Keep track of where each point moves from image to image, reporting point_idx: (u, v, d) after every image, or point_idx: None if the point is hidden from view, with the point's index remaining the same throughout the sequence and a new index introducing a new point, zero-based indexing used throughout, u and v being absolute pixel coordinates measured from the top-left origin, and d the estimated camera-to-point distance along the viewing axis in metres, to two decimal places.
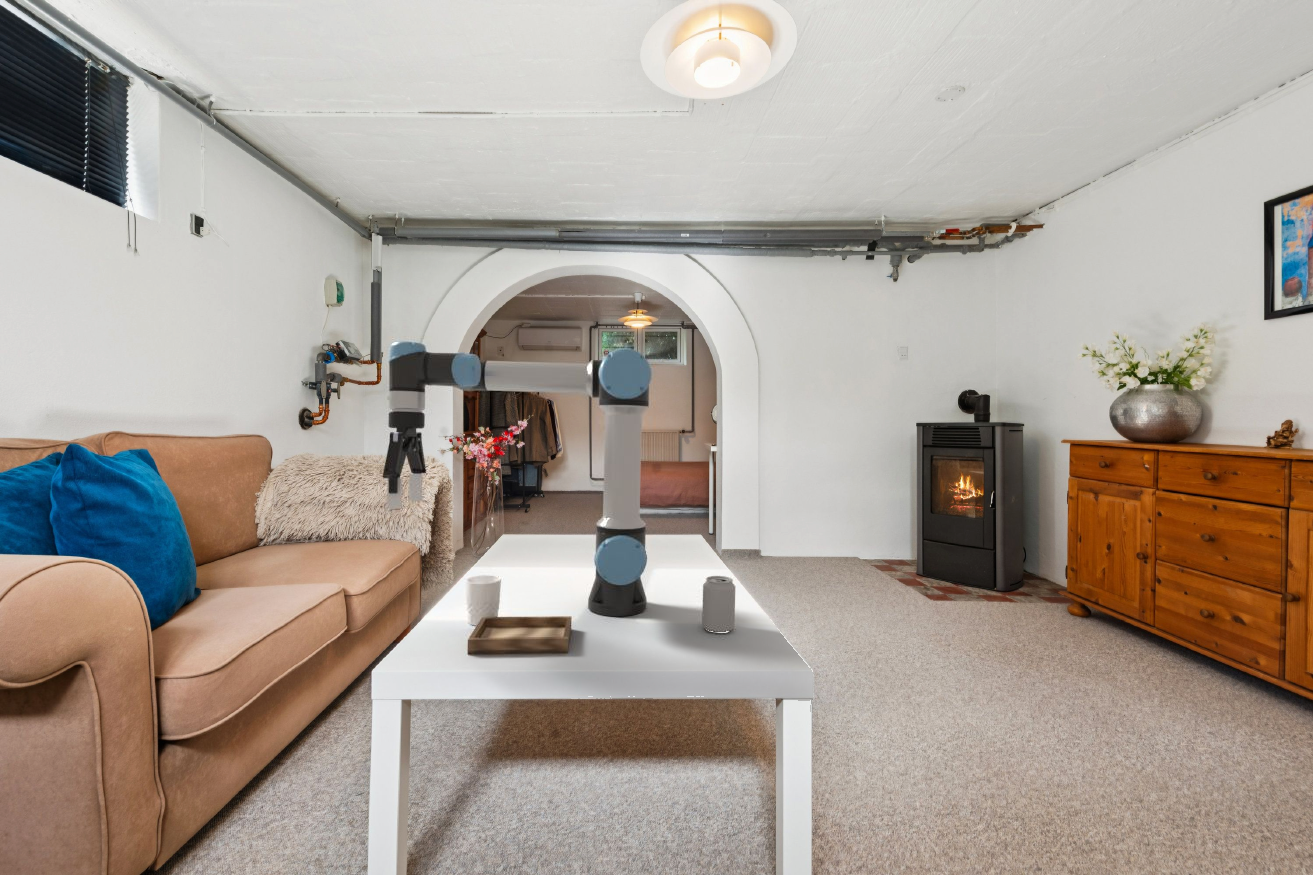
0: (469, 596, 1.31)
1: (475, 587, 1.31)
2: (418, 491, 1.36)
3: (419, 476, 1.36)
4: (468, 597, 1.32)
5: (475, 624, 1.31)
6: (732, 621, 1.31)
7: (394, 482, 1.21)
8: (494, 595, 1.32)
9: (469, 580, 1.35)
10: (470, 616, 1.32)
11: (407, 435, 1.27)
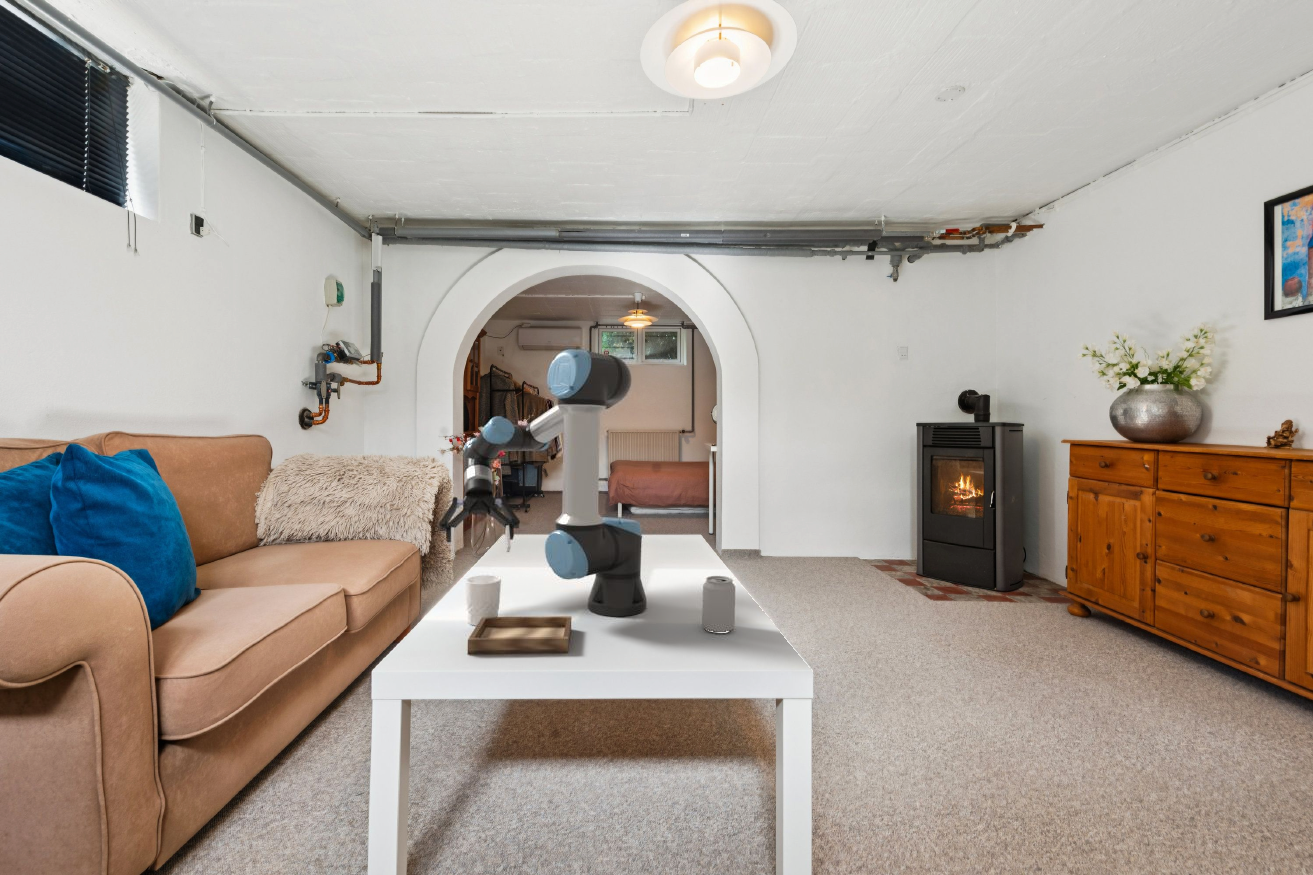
0: (469, 596, 1.31)
1: (475, 588, 1.31)
2: (506, 540, 1.48)
3: (506, 528, 1.50)
4: (468, 597, 1.32)
5: (475, 624, 1.31)
6: (732, 621, 1.31)
7: (446, 532, 1.45)
8: (494, 595, 1.32)
9: (469, 580, 1.35)
10: (470, 616, 1.32)
11: (469, 499, 1.53)
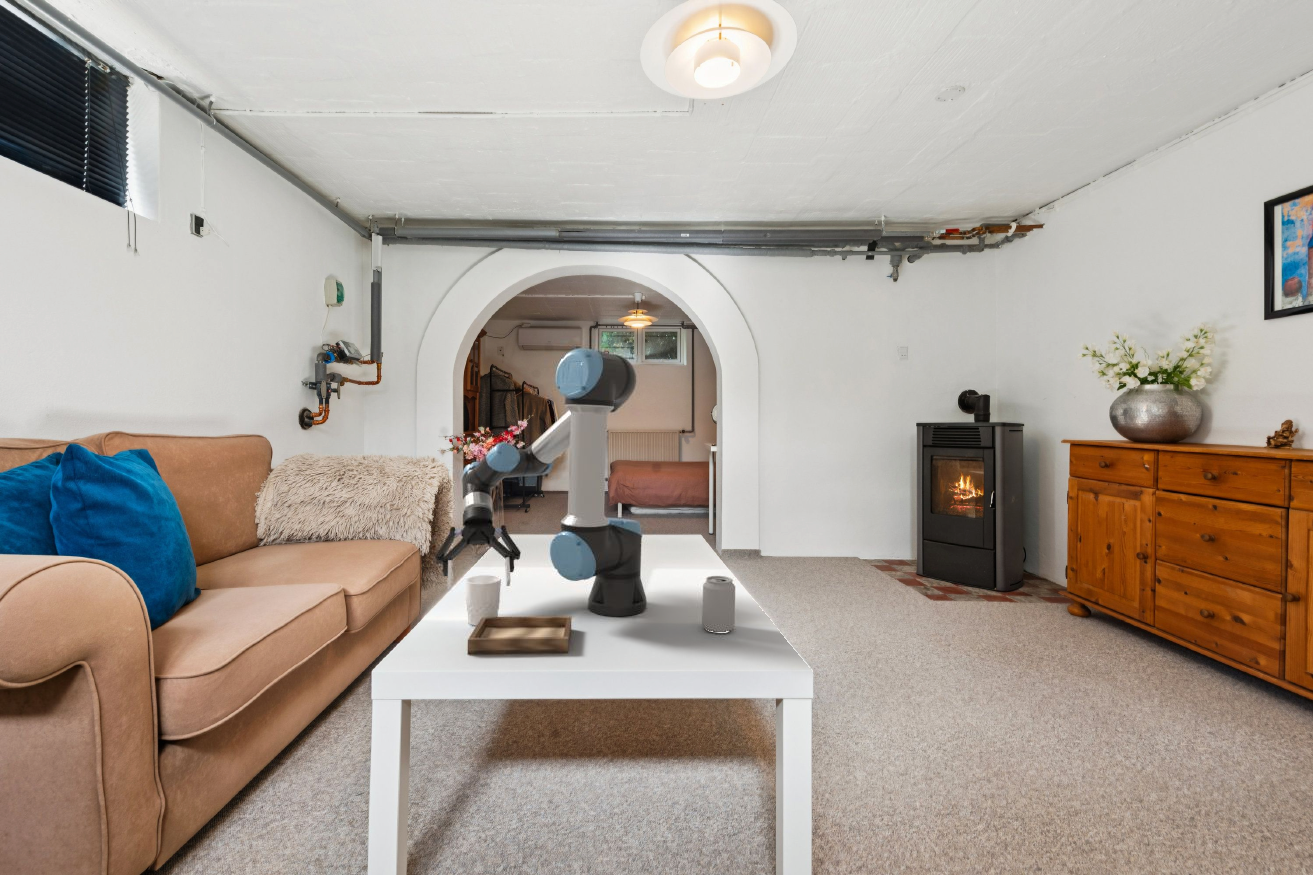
0: (469, 596, 1.31)
1: (475, 588, 1.31)
2: (506, 573, 1.40)
3: (506, 560, 1.42)
4: (468, 597, 1.32)
5: (475, 624, 1.31)
6: (732, 621, 1.31)
7: (443, 565, 1.37)
8: (494, 595, 1.32)
9: (469, 580, 1.35)
10: (470, 616, 1.32)
11: (467, 528, 1.46)
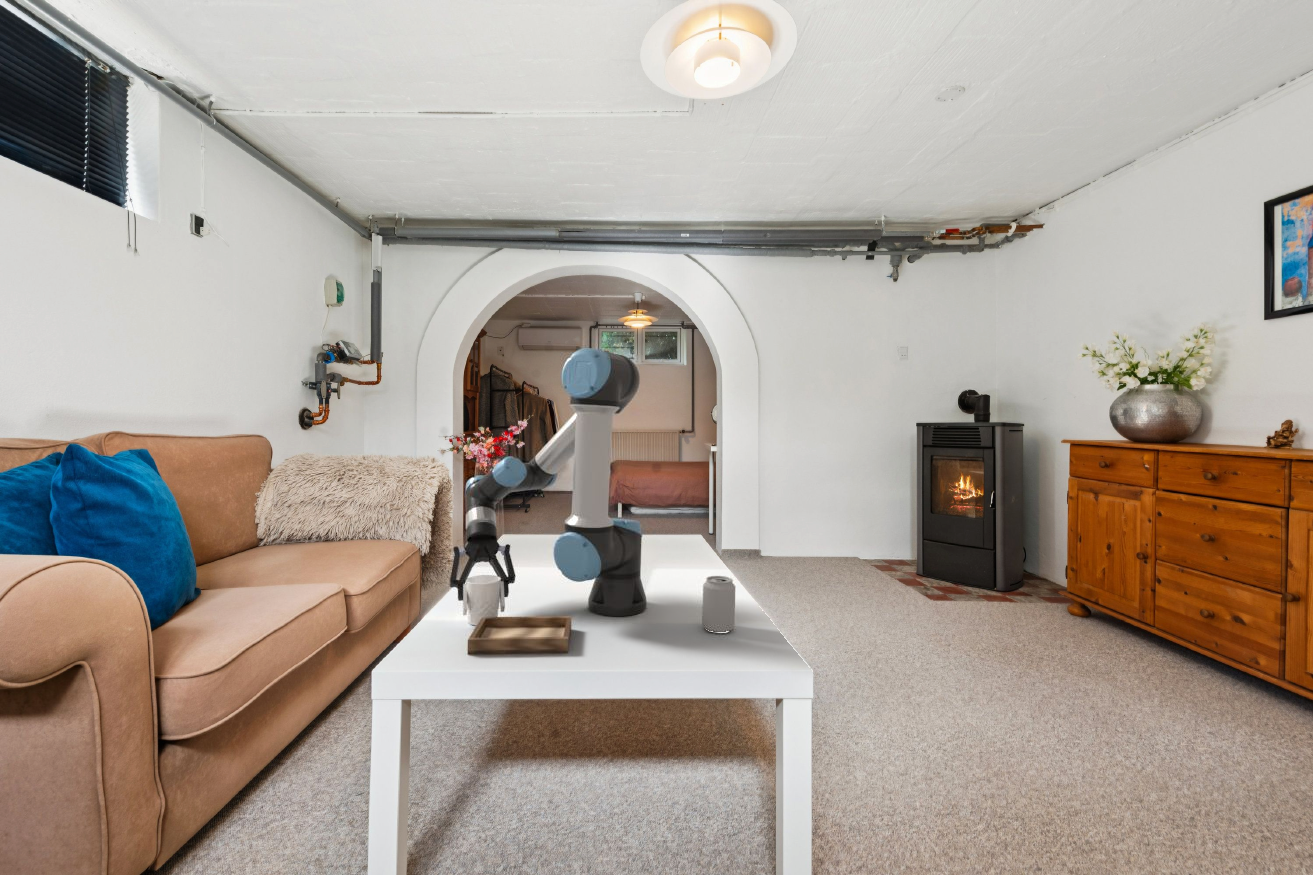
0: (469, 596, 1.31)
1: (474, 587, 1.31)
2: (500, 598, 1.34)
3: None
4: (468, 597, 1.32)
5: (475, 624, 1.31)
6: (732, 621, 1.31)
7: (458, 589, 1.33)
8: (494, 595, 1.32)
9: (469, 580, 1.35)
10: (470, 616, 1.32)
11: (470, 544, 1.41)
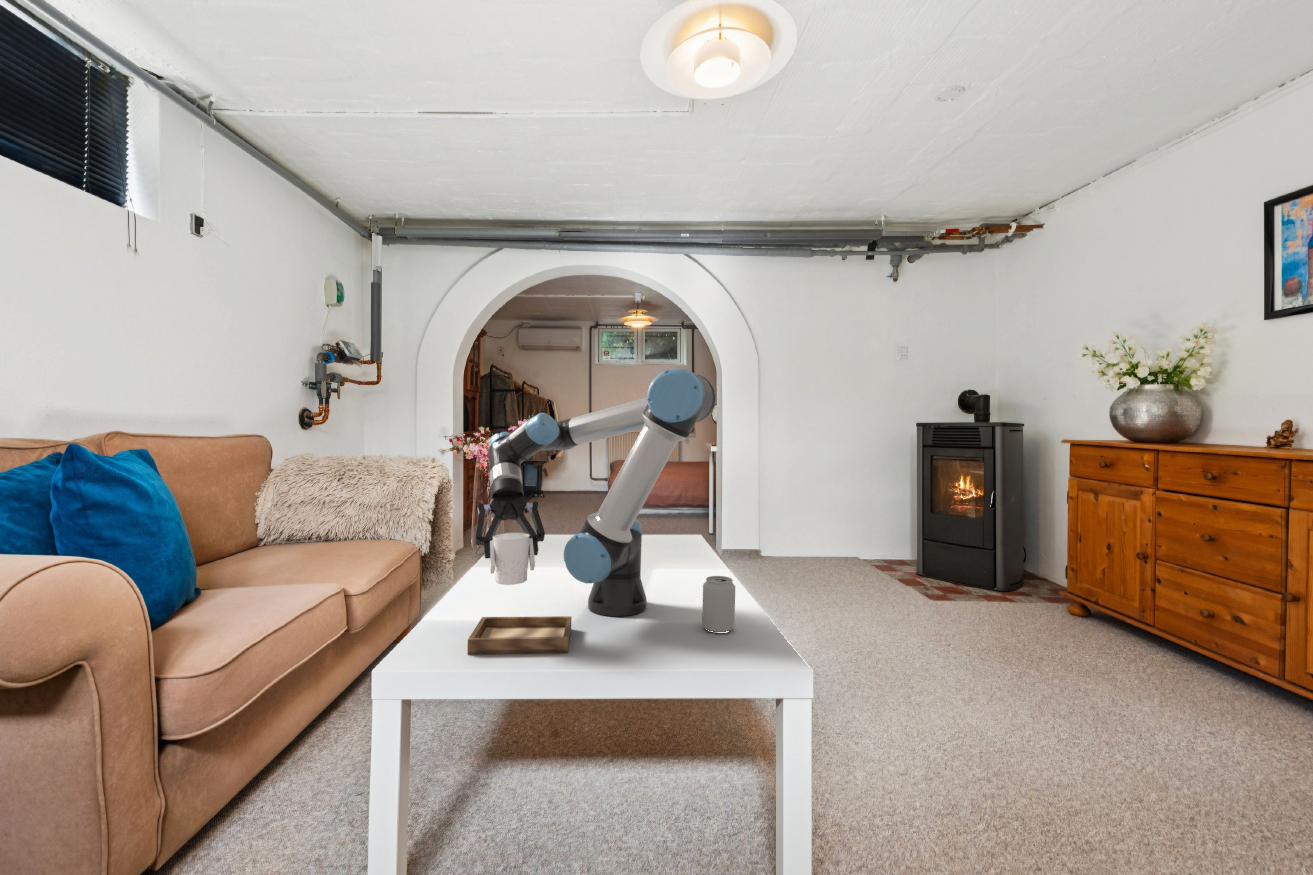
0: (497, 553, 1.22)
1: (502, 543, 1.21)
2: (530, 555, 1.24)
3: (529, 541, 1.26)
4: (495, 554, 1.23)
5: (503, 583, 1.22)
6: (732, 621, 1.31)
7: (484, 546, 1.24)
8: (523, 551, 1.23)
9: (495, 537, 1.26)
10: (498, 575, 1.23)
11: (495, 501, 1.32)
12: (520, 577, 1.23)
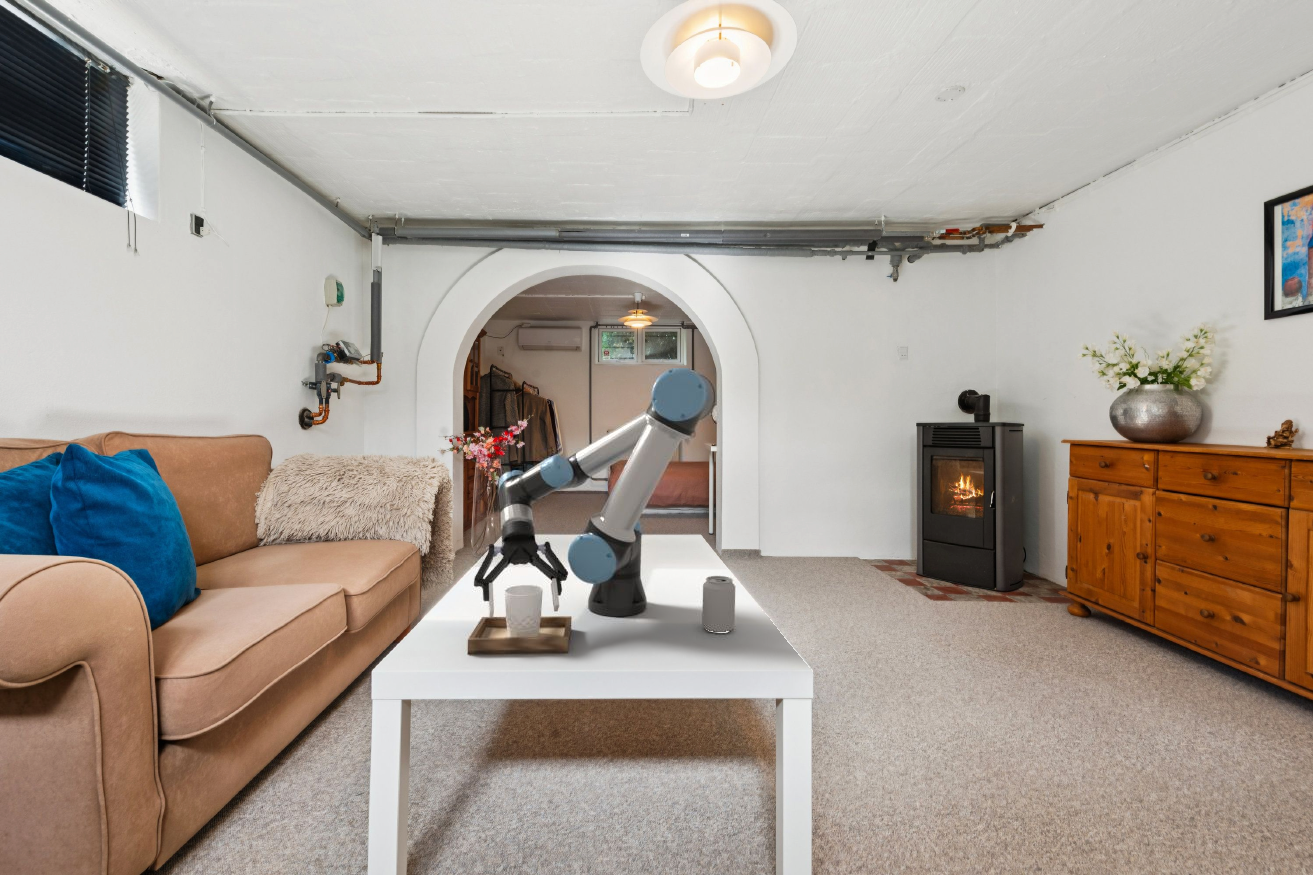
0: (509, 609, 1.20)
1: (515, 599, 1.19)
2: (554, 597, 1.24)
3: (552, 581, 1.26)
4: (508, 610, 1.20)
5: None
6: (732, 621, 1.31)
7: (483, 588, 1.21)
8: (536, 607, 1.21)
9: (508, 591, 1.23)
10: (510, 631, 1.20)
11: (507, 545, 1.29)
12: (533, 633, 1.21)
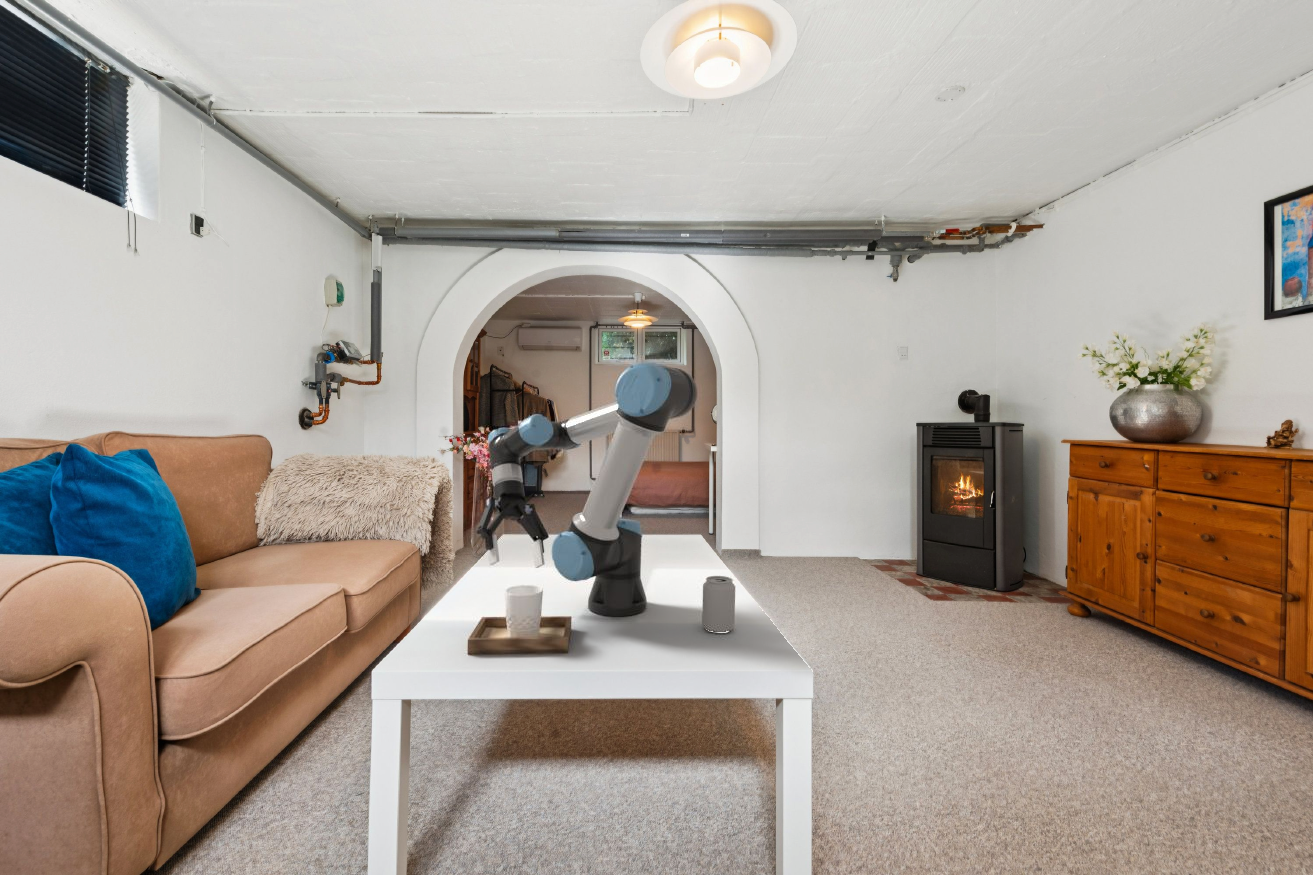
0: (509, 609, 1.20)
1: (516, 599, 1.19)
2: (539, 556, 1.43)
3: (538, 542, 1.44)
4: (508, 610, 1.20)
5: None
6: (732, 621, 1.31)
7: (487, 538, 1.33)
8: (536, 607, 1.21)
9: (508, 591, 1.23)
10: (510, 631, 1.20)
11: (504, 501, 1.42)
12: (533, 633, 1.21)
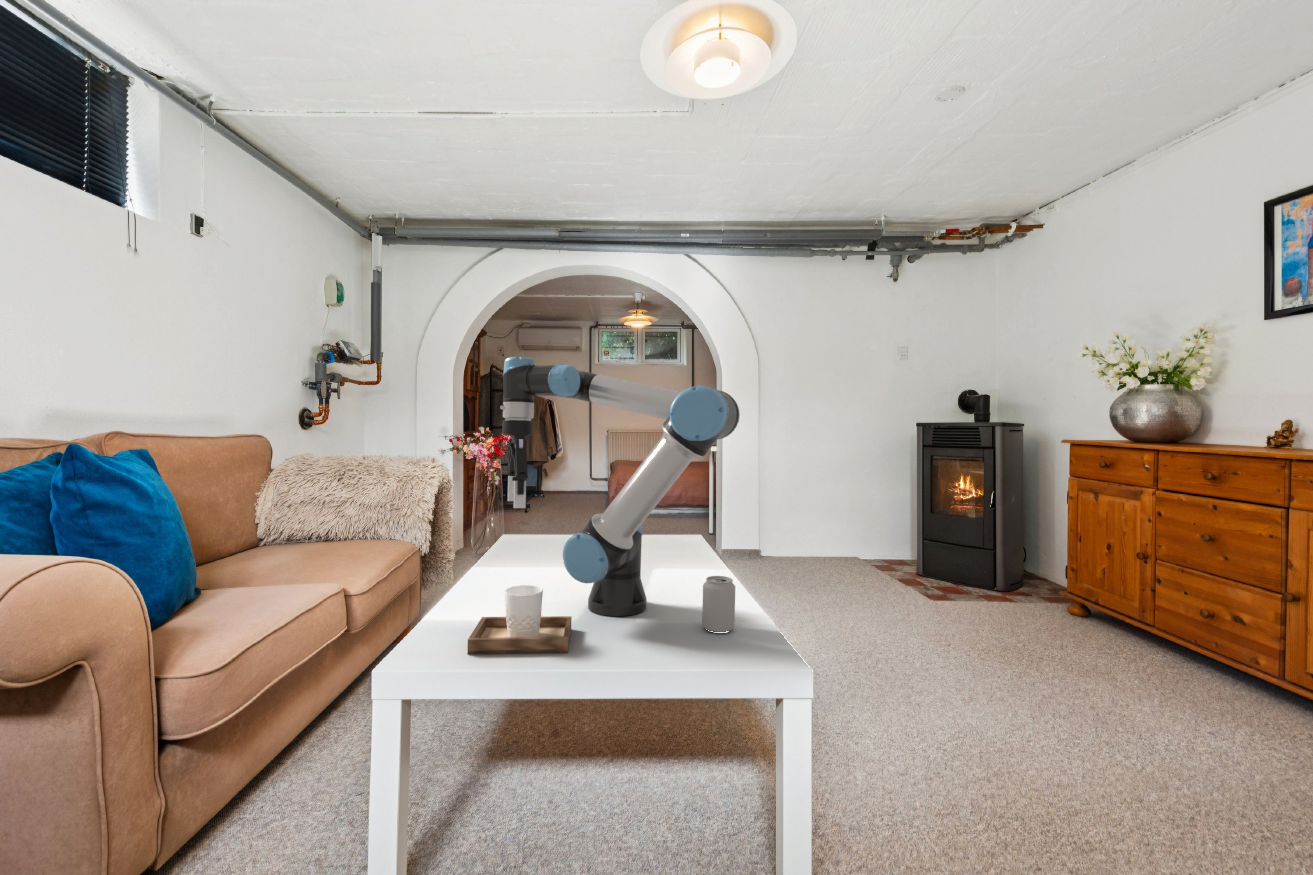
0: (509, 609, 1.20)
1: (515, 599, 1.19)
2: None
3: None
4: (508, 610, 1.20)
5: None
6: (732, 621, 1.31)
7: (522, 484, 1.35)
8: (536, 607, 1.21)
9: (508, 591, 1.23)
10: (510, 631, 1.20)
11: None
12: (533, 633, 1.21)
